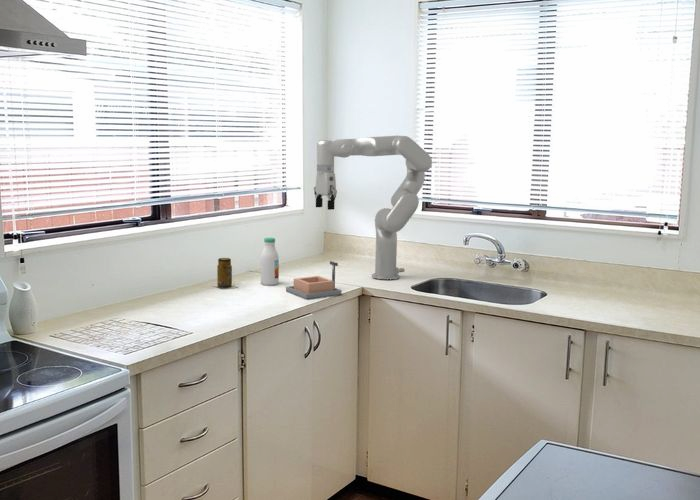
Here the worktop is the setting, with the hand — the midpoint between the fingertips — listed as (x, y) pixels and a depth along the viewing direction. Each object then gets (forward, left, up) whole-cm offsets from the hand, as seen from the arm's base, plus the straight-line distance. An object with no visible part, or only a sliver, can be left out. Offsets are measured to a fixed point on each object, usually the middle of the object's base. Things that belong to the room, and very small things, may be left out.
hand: (324, 208), depth 333 cm
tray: (+17, +19, -32) cm, 41 cm away
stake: (+5, +15, -32) cm, 36 cm away
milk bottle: (+24, -6, -32) cm, 41 cm away
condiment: (+43, -10, -33) cm, 55 cm away
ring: (+17, +19, -32) cm, 40 cm away
